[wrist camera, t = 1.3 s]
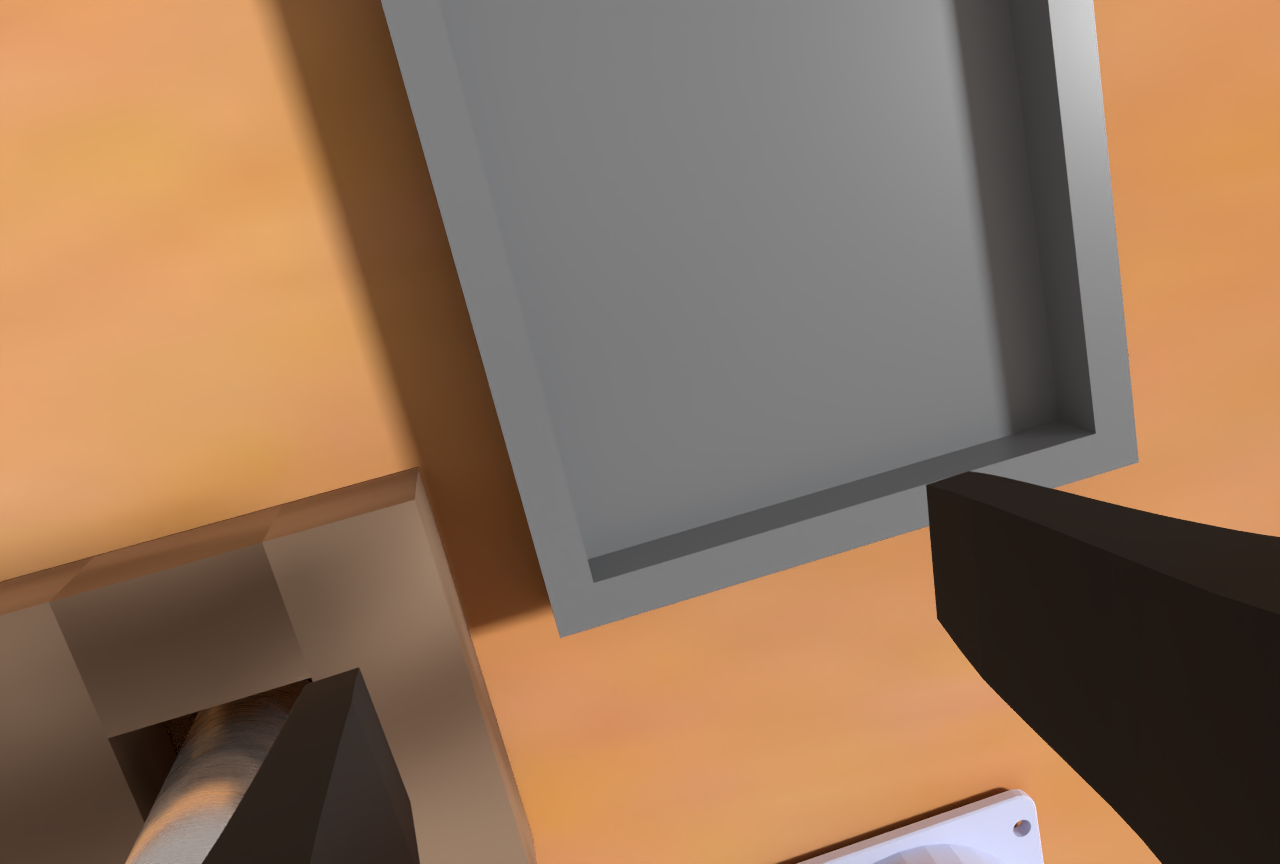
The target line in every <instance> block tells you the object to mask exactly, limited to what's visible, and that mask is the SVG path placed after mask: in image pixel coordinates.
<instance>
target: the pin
mask: <svg viewBox="0 0 1280 864" xmlns="http://www.w3.org/2000/svg"><path fill="white" fill-rule="evenodd" d="M308 683H311V682H310V681H308V680H307V679H304V680H301V681H298V682H294V683H291V684H288V685H284V686H281V687H278V688H274V689H271V690H268V691H264V692H261V693H258V694H254V695H251V696H248V697H244V698H241V699H238V700H234V701H231V702H228V703H224V704H221V705H218V706H214V707H211V708H207V709H204V710H201V711H199V712H198V714H197V716H196V718H195V721H194V723H193V725H192V727H191V729H190V731H189V733H188V735H187V737H186V739H185V741H184V743H183V745H182V747H181V749H180V751H179V753H178V755H177V758H176V760H175V762H174V764H173V766H172V768H171V770H170V772H169V774H168V776H167V778H166V780H165V782H164V784H163V786H162V788H161V790H160V793H159V795H158V797H157V799H156V801H155V803H154V805H153V807H152V809H151V811H150V813H149V815H148V817H147V819H146V821H145V823H144V825H143V828H142V830H141V832H140V834H139V836H138V838H137V840H136V842H135V844H134V846H133V848H132V850H131V852H130V854H129V856H128V858H127V860H126V862H125V864H202V862H203V861H204V859H205V858H206V856H207V855H208V853H209V852H210V850H211V848H212V847H213V845H214V844H215V842H216V841H217V839H218V838H219V836H220V835H221V833H222V831H223V830H224V828H225V826H226V825H227V823H228V821H229V820H230V818H231V816H232V815H233V813H234V811H235V809H236V808H237V806H238V804H239V803H240V801H241V799H242V797H243V796H244V794H245V792H246V790H247V789H248V787H249V785H250V784H251V782H252V780H253V778H254V777H255V775H256V773H257V771H258V770H259V768H260V766H261V764H262V762H263V761H264V759H265V757H266V755H267V753H268V751H269V750H270V748H271V746H272V744H273V742H274V740H275V739H276V737H277V735H278V733H279V731H280V729H281V727H282V725H283V724H284V722H285V720H286V718H287V716H288V714H289V712H290V711H291V709H292V707H293V705H294V703H295V702H296V700H297V698H298V696H299V695H300V693H301V691H302V690H303V688H304V686H305V685H306V684H308Z"/></svg>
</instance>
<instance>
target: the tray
mask: <svg viewBox="0 0 1280 864" xmlns="http://www.w3.org/2000/svg"><path fill="white" fill-rule="evenodd" d="M381 3H382V7H383V10H384V14H385V17H386V21H387V24H388V28H389V31H390V35H391V39H392V42H393V46H394V49H395V53H396V56H397V60H398V63H399V67H400V71H401V74H402V78H403V81H404V85H405V88H406V92H407V95H408V99H409V102H410V106H411V110H412V113H413V117H414V120H415V124H416V127H417V131H418V134H419V138H420V142H421V145H422V149H423V152H424V156H425V159H426V163H427V166H428V170H429V174H430V177H431V181H432V184H433V188H434V191H435V195H436V198H437V202H438V205H439V209H440V213H441V216H442V220H443V223H444V227H445V230H446V234H447V237H448V241H449V245H450V248H451V252H452V255H453V259H454V262H455V266H456V269H457V273H458V277H459V280H460V284H461V287H462V291H463V294H464V298H465V301H466V305H467V309H468V312H469V316H470V319H471V323H472V326H473V330H474V333H475V337H476V340H477V344H478V348H479V351H480V355H481V358H482V362H483V365H484V369H485V372H486V376H487V380H488V383H489V387H490V390H491V394H492V397H493V401H494V404H495V408H496V412H497V415H498V419H499V422H500V426H501V429H502V433H503V436H504V440H505V443H506V447H507V451H508V454H509V458H510V461H511V465H512V468H513V472H514V475H515V479H516V483H517V486H518V490H519V493H520V497H521V500H522V504H523V507H524V511H525V515H526V518H527V522H528V525H529V529H530V532H531V536H532V539H533V543H534V547H535V550H536V554H537V557H538V561H539V564H540V568H541V571H542V575H543V578H544V582H545V586H546V589H547V593H548V596H549V600H550V603H551V607H552V610H553V614H554V618H555V621H556V625H557V628H558V632H559V635H560V638H562V637H565V636H568V635H572V634H575V633H578V632H581V631H585V630H588V629H591V628H595V627H598V626H601V625H604V624H608V623H611V622H614V621H618V620H621V619H624V618H628V617H631V616H634V615H637V614H641V613H644V612H647V611H651V610H654V609H657V608H660V607H664V606H667V605H670V604H674V603H677V602H680V601H683V600H687V599H690V598H693V597H697V596H700V595H703V594H707V593H710V592H713V591H716V590H720V589H723V588H726V587H730V586H733V585H736V584H739V583H743V582H746V581H749V580H753V579H756V578H759V577H762V576H766V575H769V574H772V573H776V572H779V571H782V570H786V569H789V568H792V567H795V566H799V565H802V564H805V563H809V562H812V561H815V560H818V559H822V558H825V557H828V556H832V555H835V554H838V553H841V552H845V551H848V550H851V549H855V548H858V547H861V546H865V545H868V544H871V543H874V542H878V541H881V540H884V539H888V538H891V537H894V536H897V535H901V534H904V533H907V532H911V531H914V530H917V529H920V528H924V527H927V526H929V515H928V503H927V491H926V485H927V484H930V483H933V482H937V481H940V480H943V479H946V478H949V477H952V476H955V475H958V474H961V473H965V472H968V471H972V472H979V473H985V474H991V475H996V476H1001V477H1005V478H1010V479H1014V480H1018V481H1023V482H1027V483H1031V484H1035V485H1039V486H1043V487H1047V488H1051V489H1052V488H1055V487H1059V486H1062V485H1065V484H1069V483H1072V482H1075V481H1078V480H1082V479H1085V478H1088V477H1092V476H1095V475H1098V474H1102V473H1105V472H1108V471H1111V470H1115V469H1118V468H1121V467H1125V466H1128V465H1131V464H1134V463H1138V462H1139V460H1138V450H1137V440H1136V430H1135V420H1134V410H1133V399H1132V389H1131V379H1130V369H1129V359H1128V349H1127V339H1126V329H1125V319H1124V308H1123V298H1122V288H1121V278H1120V268H1119V258H1118V248H1117V238H1116V228H1115V217H1114V207H1113V197H1112V187H1111V177H1110V167H1109V157H1108V147H1107V137H1106V127H1105V116H1104V106H1103V96H1102V86H1101V76H1100V66H1099V56H1098V46H1097V36H1096V25H1095V15H1094V5H1093V0H381Z"/></svg>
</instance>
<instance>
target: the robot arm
mask: <svg viewBox="0 0 1280 864" xmlns="http://www.w3.org/2000/svg"><path fill="white" fill-rule="evenodd" d="M926 491H927V503H928V515H929V527H930V538H931V550H932V562H933V574H934V586H935V597H936V609H937V619H938V620H939V622H940V623H941V624H942V626H943V627H944V628H945V630H946V631H947V632H948V634H949V635H950V637H951V638H952V639H953V641H954V642H955V643H956V645H957V646H958V648H959V649H960V650H961V652H962V653H963V654H964V655H965V657H966V658H967V659H968V661H969V662H970V663H971V664H972V666H973V667H974V668H975V669H976V671H977V672H978V673H979V674H980V676H981V677H982V678H983V679H984V680H985V681H986V682H987V684H988V685H989V686H990V687H991V688H992V689H993V690H994V691H995V692H996V693H997V694H998V695H999V696H1000V697H1001V698H1002V699H1003V700H1004V701H1005V702H1006V703H1007V704H1008V705H1009V706H1010V707H1011V708H1012V709H1013V710H1014V711H1015V712H1016V713H1017V714H1018V715H1019V716H1020V717H1021V718H1022V719H1023V720H1024V721H1025V722H1026V723H1027V724H1028V725H1029V726H1030V727H1031V728H1032V729H1033V730H1034V731H1035V732H1036V733H1037V734H1038V735H1039V736H1040V737H1041V738H1042V739H1043V740H1044V741H1045V742H1046V743H1047V744H1048V745H1049V746H1050V747H1051V748H1052V749H1053V750H1054V751H1055V752H1057V753H1058V754H1059V755H1060V756H1061V757H1062V758H1063V759H1064V760H1065V761H1066V762H1067V763H1068V764H1069V765H1070V766H1071V767H1072V768H1073V769H1074V770H1075V771H1076V772H1077V773H1078V774H1079V775H1080V776H1081V777H1082V778H1083V779H1084V780H1085V781H1086V782H1087V783H1088V784H1089V785H1090V786H1091V787H1092V788H1093V789H1094V790H1095V791H1096V792H1097V793H1098V794H1099V795H1100V796H1101V797H1102V798H1103V799H1104V800H1105V801H1106V802H1107V803H1108V804H1109V805H1110V806H1111V807H1112V808H1113V809H1114V810H1115V811H1116V812H1117V813H1118V814H1119V815H1120V816H1121V817H1122V818H1123V820H1124V821H1125V822H1126V823H1127V824H1128V825H1129V826H1130V827H1131V828H1132V829H1133V830H1134V831H1135V832H1136V833H1137V834H1138V836H1139V837H1140V838H1141V839H1142V840H1143V841H1144V843H1145V844H1146V845H1147V846H1148V847H1149V849H1150V850H1151V851H1152V852H1153V853H1154V855H1155V856H1156V857H1157V858H1158V859H1159V861H1160V862H1161V863H1162V864H1280V537H1275V536H1267V535H1261V534H1255V533H1249V532H1243V531H1237V530H1232V529H1226V528H1221V527H1216V526H1211V525H1206V524H1201V523H1196V522H1191V521H1186V520H1181V519H1176V518H1172V517H1167V516H1163V515H1158V514H1154V513H1149V512H1145V511H1140V510H1136V509H1132V508H1128V507H1123V506H1119V505H1115V504H1111V503H1107V502H1103V501H1099V500H1095V499H1091V498H1087V497H1083V496H1079V495H1075V494H1071V493H1067V492H1063V491H1059V490H1055V489H1051V488H1047V487H1043V486H1039V485H1035V484H1031V483H1027V482H1023V481H1018V480H1014V479H1010V478H1005V477H1001V476H996V475H991V474H985V473H979V472H972V471H968V472H965V473H961V474H958V475H955V476H952V477H949V478H946V479H943V480H940V481H937V482H933V483H930V484H927V485H926ZM1020 820H1022V822H1021V824H1020V825H1019V826H1017V827H1016V828H1014V826H1015V824H1016V823H1017V822H1019V821H1020ZM202 864H420V860H419V853H418V846H417V840H416V833H415V827H414V820H413V814H412V808H411V802H410V799H409V797H408V794H407V791H406V789H405V786H404V783H403V781H402V778H401V776H400V773H399V770H398V768H397V765H396V762H395V760H394V757H393V755H392V752H391V749H390V747H389V744H388V741H387V739H386V736H385V734H384V731H383V728H382V726H381V723H380V721H379V718H378V715H377V713H376V710H375V707H374V705H373V702H372V700H371V697H370V694H369V692H368V689H367V686H366V684H365V681H364V679H363V676H362V673H361V671H360V668H359V667H358V668H355V669H352V670H349V671H346V672H343V673H339V674H336V675H333V676H330V677H327V678H324V679H321V680H318V681H315V682H311V683H308V684H306V685H305V686H304V688H303V690H302V691H301V693H300V695H299V696H298V698H297V700H296V702H295V703H294V705H293V707H292V709H291V711H290V712H289V714H288V716H287V718H286V720H285V722H284V724H283V725H282V727H281V729H280V731H279V733H278V735H277V737H276V739H275V740H274V742H273V744H272V746H271V748H270V750H269V751H268V753H267V755H266V757H265V759H264V761H263V762H262V764H261V766H260V768H259V770H258V771H257V773H256V775H255V777H254V778H253V780H252V782H251V784H250V785H249V787H248V789H247V790H246V792H245V794H244V796H243V797H242V799H241V801H240V803H239V804H238V806H237V808H236V809H235V811H234V813H233V815H232V816H231V818H230V820H229V821H228V823H227V825H226V826H225V828H224V830H223V831H222V833H221V835H220V836H219V838H218V839H217V841H216V842H215V844H214V845H213V847H212V848H211V850H210V852H209V853H208V855H207V856H206V858H205V859H204V861H203V862H202ZM797 864H1044V861H1043V854H1042V847H1041V840H1040V833H1039V826H1038V819H1037V812H1036V806H1035V803H1034V801H1033V800H1032V799H1031V797H1030V796H1029V795H1028V794H1026V793H1025V792H1024V791H1023V790H1020V789H1013V790H1009V791H1006V792H1003V793H1000V794H997V795H994V796H991V797H988V798H985V799H982V800H980V801H977V802H974V803H971V804H968V805H965V806H962V807H959V808H956V809H953V810H951V811H948V812H945V813H942V814H939V815H936V816H933V817H930V818H927V819H924V820H922V821H919V822H916V823H913V824H910V825H907V826H904V827H901V828H898V829H895V830H893V831H890V832H887V833H884V834H881V835H878V836H875V837H872V838H869V839H866V840H864V841H861V842H858V843H855V844H852V845H849V846H846V847H843V848H840V849H837V850H835V851H832V852H829V853H826V854H823V855H820V856H817V857H814V858H811V859H808V860H806V861H803V862H800V863H797Z"/></svg>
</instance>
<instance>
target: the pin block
mask: <svg viewBox="0 0 1280 864" xmlns="http://www.w3.org/2000/svg"><path fill="white" fill-rule="evenodd" d="M358 667H359V668H360V671H361V673H362V676H363V679H364V681H365V684H366V686H367V689H368V692H369V694H370V697H371V700H372V702H373V705H374V707H375V710H376V713H377V715H378V718H379V721H380V723H381V726H382V728H383V731H384V734H385V736H386V739H387V741H388V744H389V747H390V749H391V752H392V755H393V757H394V760H395V762H396V765H397V768H398V770H399V773H400V776H401V778H402V781H403V783H404V786H405V789H406V791H407V794H408V797H409V799H410V802H411V808H412V814H413V820H414V827H415V833H416V840H417V846H418V853H419V860H420V864H537V862H536V854H535V847H534V840H533V837H532V833H531V830H530V827H529V824H528V821H527V817H526V814H525V811H524V808H523V804H522V801H521V798H520V795H519V791H518V788H517V785H516V782H515V778H514V775H513V772H512V769H511V765H510V762H509V759H508V756H507V753H506V749H505V746H504V743H503V740H502V736H501V733H500V730H499V727H498V723H497V720H496V717H495V714H494V710H493V707H492V704H491V701H490V697H489V694H488V691H487V688H486V685H485V681H484V678H483V675H482V672H481V668H480V665H479V662H478V659H477V655H476V652H475V649H474V646H473V642H472V639H471V636H470V633H469V629H468V626H467V623H466V620H465V617H464V613H463V610H462V607H461V604H460V600H459V597H458V594H457V591H456V587H455V584H454V581H453V578H452V574H451V571H450V568H449V565H448V561H447V558H446V555H445V552H444V549H443V545H442V542H441V539H440V536H439V532H438V529H437V526H436V523H435V519H434V516H433V513H432V510H431V506H430V503H429V500H428V497H427V493H426V490H425V487H424V484H423V481H422V477H421V474H420V471H419V468H418V467H417V468H413V469H409V470H406V471H402V472H398V473H395V474H391V475H388V476H384V477H380V478H377V479H373V480H369V481H366V482H362V483H358V484H355V485H351V486H348V487H344V488H340V489H337V490H333V491H329V492H326V493H322V494H319V495H315V496H311V497H308V498H304V499H300V500H297V501H293V502H290V503H286V504H282V505H279V506H275V507H271V508H268V509H264V510H261V511H257V512H253V513H250V514H246V515H242V516H239V517H235V518H232V519H228V520H224V521H221V522H217V523H213V524H210V525H206V526H202V527H199V528H195V529H192V530H188V531H184V532H181V533H177V534H173V535H170V536H166V537H163V538H159V539H155V540H152V541H148V542H144V543H141V544H137V545H134V546H130V547H126V548H123V549H119V550H115V551H112V552H108V553H105V554H101V555H97V556H94V557H90V558H86V559H83V560H79V561H76V562H72V563H68V564H65V565H61V566H57V567H54V568H50V569H46V570H43V571H39V572H36V573H32V574H28V575H25V576H21V577H17V578H14V579H10V580H7V581H3V582H0V864H125V862H126V860H127V858H128V856H129V854H130V852H131V850H132V848H133V846H134V844H135V842H136V840H137V838H138V836H139V834H140V832H141V830H142V828H143V825H144V823H145V821H146V819H147V817H148V815H149V813H150V811H151V809H152V807H153V805H154V803H155V801H156V799H157V797H158V795H159V793H160V790H161V788H162V786H163V784H164V782H165V780H166V778H167V776H168V774H169V772H170V770H171V768H172V766H173V764H174V762H175V760H176V758H177V754H176V752H175V750H174V747H173V745H172V742H171V740H170V738H169V735H168V733H167V730H166V728H165V725H164V723H163V722H164V721H167V720H171V719H174V718H177V717H181V716H184V715H187V714H191V713H194V712H197V711H201V710H204V709H207V708H211V707H214V706H218V705H221V704H224V703H228V702H231V701H234V700H238V699H241V698H244V697H248V696H251V695H254V694H258V693H261V692H264V691H268V690H271V689H274V688H278V687H281V686H284V685H288V684H291V683H294V682H298V681H301V680H304V679H308V678H311V679H312V681H313V682H315V681H318V680H321V679H324V678H327V677H330V676H333V675H336V674H339V673H343V672H346V671H349V670H352V669H355V668H358Z"/></svg>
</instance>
